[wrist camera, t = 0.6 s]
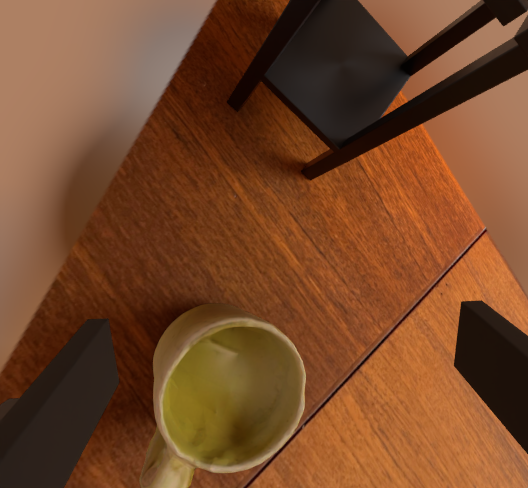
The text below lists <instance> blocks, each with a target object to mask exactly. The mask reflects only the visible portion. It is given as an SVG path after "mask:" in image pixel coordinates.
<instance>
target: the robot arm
mask: <svg viewBox="0 0 528 488" xmlns="http://www.w3.org/2000/svg"><path fill="white" fill-rule="evenodd" d="M454 366H455V368H456V369H457V370H458V371H459V372H460V374H461V375H462V376H463V377H464V378H465V380H466V381H467V382H468V383H469V384H470V385H471V387H472V388H473V389H474V390H475V391H476V393H477V394H478V395H479V396H480V397H481V399H482V400H483V401H484V402H485V403H486V405H487V406H488V407H489V408H490V409H491V411H492V412H493V413H494V414H495V415H496V417H497V418H498V419H499V420H500V421H501V423H502V424H503V425H504V426H505V427H506V429H507V430H508V431H509V432H510V433H511V435H512V436H513V437H514V438H515V439H516V441H517V442H518V443H519V444H520V445H521V447H522V448H523V449H524V450H525V451H526V453H527V454H528V336H527V335H526V334H525V333H523V332H522V331H521V330H519V329H518V328H517V327H515V326H514V325H513V324H512V323H510V322H509V321H508V320H506V319H505V318H504V317H502V316H501V315H500V314H498V313H497V312H496V311H495V310H493V309H492V308H491V307H489V306H488V305H487V304H485V303H484V302H483V301H464V302H461V309H460V317H459V326H458V334H457V343H456V352H455V360H454ZM118 384H119V377H118V371H117V366H116V360H115V354H114V348H113V343H112V337H111V331H110V325H109V319H108V318H107V319H87V321H86V322H85V323H84V324H83V325H82V326H81V328H80V329H79V330H78V331H77V332H76V333H75V335H74V336H73V337H72V338H71V339H70V340H69V341H68V343H67V344H66V345H65V346H64V347H63V348H62V350H61V351H60V352H59V353H58V354H57V355H56V357H55V358H54V359H53V360H52V361H51V362H50V364H49V365H48V366H47V367H46V368H45V369H44V370H43V372H42V373H41V374H40V375H39V376H38V377H37V379H36V380H35V381H34V382H33V383H32V384H31V386H30V387H29V388H28V389H27V390H26V391H25V393H24V394H23V395H22V396H21V397H20V398H16V399H8V400H7V401H5V402H4V403H2V404H1V405H0V488H64V486H65V485H66V483H67V481H68V479H69V477H70V475H71V473H72V471H73V469H74V467H75V466H76V464H77V462H78V460H79V458H80V456H81V454H82V452H83V450H84V448H85V447H86V445H87V443H88V441H89V439H90V437H91V435H92V433H93V431H94V429H95V428H96V426H97V424H98V422H99V420H100V418H101V416H102V414H103V412H104V410H105V409H106V407H107V405H108V403H109V401H110V399H111V397H112V395H113V393H114V391H115V390H116V388H117V386H118Z"/></svg>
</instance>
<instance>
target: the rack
mask: <svg viewBox="0 0 528 488" xmlns="http://www.w3.org/2000/svg"><path fill="white" fill-rule="evenodd" d="M527 10H528V0H481V1H480V2H478V3H477V4H476V5H474V6H473V7H472V8H471V9H469V10H468V11H467V12H465V13H464V14H463V15H461V16H460V17H459V18H458V19H456V20H455V21H454V22H452V23H451V24H450V25H448V26H447V27H446V28H444V29H443V30H442V31H440V32H439V33H438V34H437V35H435V36H434V37H433V38H431V39H430V40H429V41H427V42H426V43H425V44H423V45H422V46H421V47H420V48H418V49H417V50H416V51H414V52H413V53H412V54H410V55H409V56H407V55H406V54H405V53H404V52H403V51H402V50H401V48H400V47H399V46H398V45H397V44H396V43H395V42H394V40H393V39H392V38H391V37H390V36H389V35H388V34H387V33H386V32H385V30H384V29H383V28H382V27H381V26H380V25H379V24H378V22H377V21H376V20H375V19H374V18H373V17H372V16H371V15H370V13H369V12H368V11H367V10H366V9H365V8H364V7H363V6H362V4H361V3H360V2H359V1H358V0H290V1H289V3H288V5H287V6H286V8H285V9H284V11H283V13H282V14H281V16H280V17H279V19H278V21H277V22H276V24H275V25H274V27H273V29H272V30H271V32H270V33H269V35H268V37H267V38H266V40H265V41H264V43H263V45H262V46H261V48H260V49H259V51H258V53H257V54H256V56H255V57H254V59H253V61H252V62H251V64H250V65H249V67H248V69H247V70H246V72H245V73H244V75H243V76H242V78H241V80H240V81H239V83H238V84H237V86H236V88H235V89H234V91H233V92H232V94H231V96H230V97H229V99H228V100H227V103H228V104H229V105H230V106H231V107H232V108H233V109H234V110H236V111H237V112H238V111H239V110H240V109H241V107H242V106H243V105H244V104H245V103H246V101H247V100H248V99H249V97H250V96H251V95H252V93H253V92H254V91H255V89H256V88H257V87H258V85H259V84H260V82H261V81H262V82H263V83H264V84H265V85H266V86H267V87H268V88H269V89H270V90H271V91H272V92H273V93H274V94H275V95H276V96H277V97H278V98H279V99H280V100H281V101H282V102H283V103H284V104H285V105H286V106H287V107H288V108H289V109H290V110H291V111H292V112H293V113H294V114H295V115H296V116H297V117H298V118H299V119H300V120H301V121H302V122H304V123H305V124H306V125H307V126H308V127H309V128H310V129H311V130H312V131H313V132H314V133H315V134H316V135H317V136H318V137H319V138H320V139H321V140H322V141H323V142H324V143H325V144H326V145H327V146H328V147H329V148H330V149H329V150H328V151H326V152H325V153H323V154H321V155H320V156H318V157H316V158H315V159H313V160H311V161H310V162H308V163H307V164H306V166H305V167H304V168H303V170H302V171H301V172H302V173H303V174H304V175H305V176H306V177H307V178H308V179H309V180H312V179H314V178H316V177H318V176H320V175H322V174H324V173H326V172H328V171H330V170H332V169H334V168H336V167H338V166H340V165H342V164H344V163H346V162H348V161H350V160H352V159H354V158H356V157H357V156H359V155H361V154H363V153H365V152H367V151H369V150H371V149H373V148H375V147H377V146H379V145H381V144H383V143H385V142H387V141H389V140H391V139H393V138H395V137H397V136H399V135H401V134H403V133H405V132H407V131H408V130H410V129H412V128H414V127H416V126H418V125H420V124H422V123H424V122H426V121H428V120H430V119H432V118H434V117H436V116H438V115H440V114H442V113H444V112H446V111H448V110H450V109H452V108H454V107H455V106H458V105H459V104H461V103H463V102H465V101H467V100H469V99H471V98H473V97H475V96H477V95H479V94H481V93H483V92H485V91H487V90H489V89H491V88H493V87H495V86H497V85H499V84H500V83H503V82H504V81H507V80H509V79H510V78H512V77H514V76H516V75H518V74H520V73H522V72H524V71H526V70H528V16H527V17H526V19H525V20H524V22H523V24H522V25H521V27H520V28H519V30H518V32H517V33H516V35H515V37H513V38H512V39H510V40H509V41H507V42H505V43H504V44H502V45H500V46H499V47H497V48H495V49H494V50H492V51H490V52H489V53H487V54H486V55H484V56H482V57H481V58H479V59H478V60H476V61H474V62H472V63H471V64H469V65H467V66H466V67H464V68H463V69H461V70H459V71H458V72H456V73H454V74H453V75H451V76H449V77H448V78H446V79H445V80H443V81H441V82H440V83H438V84H436V85H435V86H433V87H431V88H430V89H428V90H426V91H425V92H423V93H422V94H420V95H418V96H417V97H415V98H413V99H412V100H410V101H408V102H407V103H405V104H403V105H402V106H400V107H398V108H397V109H395V110H394V111H392V112H390V113H389V114H387V115H385V116H384V117H382V116H383V114H384V113H385V111H386V110H387V109H388V107H389V106H390V104H391V103H392V102H393V100H394V99H395V97H396V96H397V95H398V93H399V92H400V90H401V89H402V88H403V86H404V85H405V83H406V82H407V81H408V79H409V78H410V76H412V75H413V74H415V73H416V72H418V71H419V70H420V69H422V68H423V67H425V66H426V65H428V64H429V63H431V62H432V61H434V60H435V59H437V58H438V57H439V56H441V55H442V54H444V53H445V52H447V51H448V50H449V49H451V48H453V47H454V46H455V45H457V44H458V43H460V42H461V41H463V40H464V39H466V38H467V37H468V36H470V35H471V34H473V33H474V32H475V31H477V30H479V29H480V28H482V27H483V26H484V25H486V24H487V23H489V22H490V21H492V20H493V19H495V18H497V19H498V20H499V22H500V23H501V24H502V25H503V26H505V25H507V24H508V23H509V22H511V21H513V20H514V19H516V18H517V17H519V16H520V15H522V14H523V13H525V12H527ZM381 117H382V118H381Z"/></svg>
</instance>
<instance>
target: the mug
mask: <svg viewBox="0 0 528 488" xmlns="http://www.w3.org/2000/svg"><path fill="white" fill-rule="evenodd" d="M153 373H154V388H153V404H154V413H155V419H156V422H157V426H156V431H155V434H154V436H153V437H152V439H151V441H150V444H149V447H148V450H147V453H146V459H145V463H144V466H143V468H142V472H141V476H140V479H139V480H140V486H141V488H188V487H189V486H190V484H191V481H192V477H193V473H194V470H195V469H196V468H201V469H205V470H207V471H210V472H213V473H231V472H237V471H243V470H247V469H250V468H252V467H254V466H257V465H259V464H260V463H262V462H264V461H265V460H267V459H268V458H269V457H271V456H272V455H273V454H274V453H275V452H276V451H278V450H279V449H280V448H281V447H282V446H283V445H284V444H285V443H286V441H287V440H288V439H289V438H290V436H291V435H292V434H293V433H294V431H295V430H296V428H297V426H298V423H299V421H300V418H301V416H302V414H303V411H304V406H305V400H304V390H305V380H306V374H305V370H304V365H303V361H302V359H301V357H300V355H299V353H298V352H297V349H296V347H295V345H294V344H293V343H292V341H291V340H290V339H289V338H288V337H286V336H285V335H284V334H283V333H282V332H281V331H280V330H279V329H278V328H277V327H275V326H274V325H273V324H271V323H269V322H268V321H266V320H264V319H262V318H260V317H257V316H255V315H253V314H251V313H249V312H246V311H243V310H241V309H239V308H237V307H235V306H232V305H228V304H222V303H209V304H203V305H200V306H198V307H195V308H193V309H191V310H188V311H187V312H185V313H183V314H182V315H180V316H179V317H178V318H177V319H176V320H175V321H173V322H172V323H171V324H170V325H169V327H168V328H167V329H166V330H165V332H164V333H163V335H162V337H161V338H160V340H159V342H158V345H157V347H156V350H155V353H154V357H153Z"/></svg>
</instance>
